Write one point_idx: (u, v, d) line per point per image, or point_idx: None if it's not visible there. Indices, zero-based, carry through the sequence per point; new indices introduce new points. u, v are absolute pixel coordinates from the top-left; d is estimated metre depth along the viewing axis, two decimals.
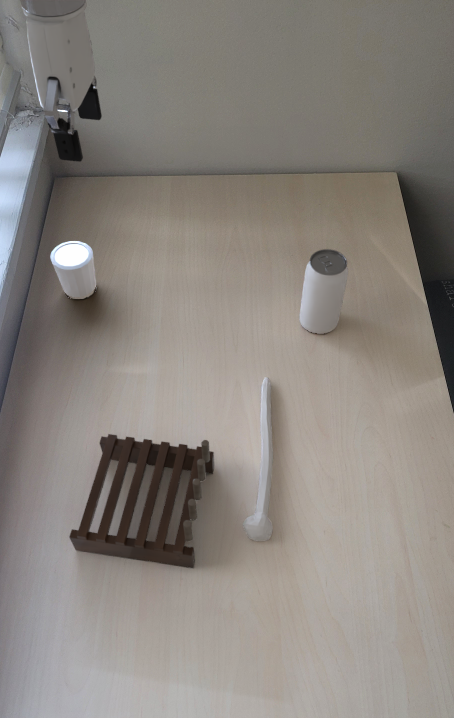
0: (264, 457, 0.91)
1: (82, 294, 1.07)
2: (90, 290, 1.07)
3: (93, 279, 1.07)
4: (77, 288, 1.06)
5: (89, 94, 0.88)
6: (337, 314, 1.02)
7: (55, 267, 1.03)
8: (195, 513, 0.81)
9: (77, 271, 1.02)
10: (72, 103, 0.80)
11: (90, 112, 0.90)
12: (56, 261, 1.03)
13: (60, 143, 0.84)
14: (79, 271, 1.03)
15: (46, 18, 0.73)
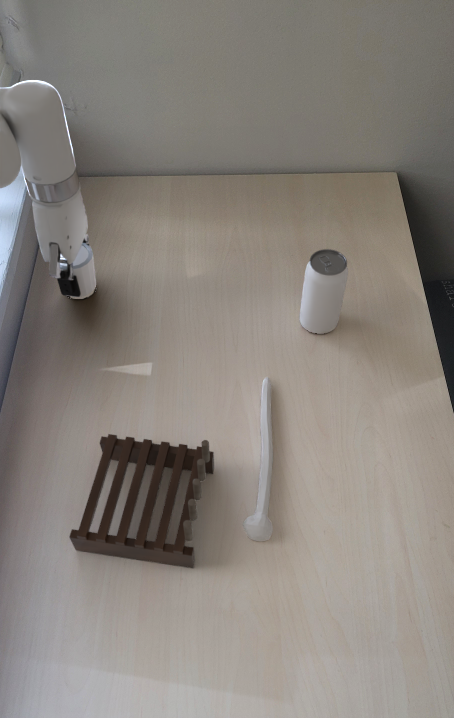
0: (264, 457, 0.91)
1: (82, 294, 1.07)
2: (90, 290, 1.07)
3: (93, 279, 1.07)
4: None
5: None
6: (337, 314, 1.02)
7: None
8: (195, 513, 0.81)
9: (77, 271, 1.02)
10: (69, 259, 0.98)
11: None
12: None
13: (62, 285, 1.03)
14: (79, 271, 1.03)
15: (48, 203, 0.91)
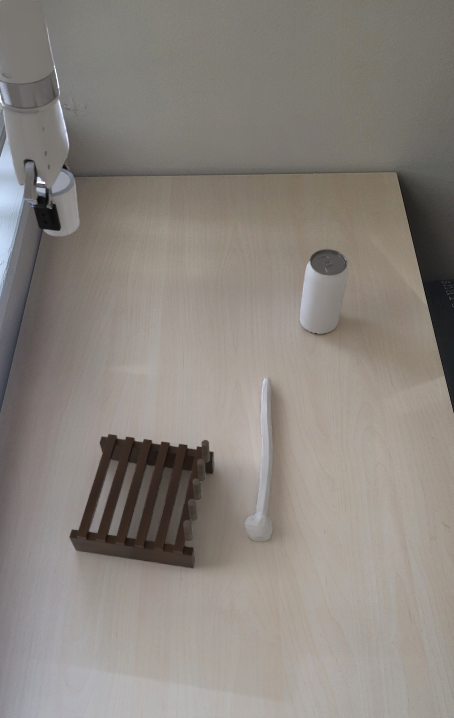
0: (264, 457, 0.91)
1: (63, 229, 0.94)
2: (72, 225, 0.95)
3: (75, 212, 0.94)
4: None
5: None
6: (337, 314, 1.02)
7: None
8: (195, 513, 0.81)
9: (57, 199, 0.90)
10: (47, 182, 0.85)
11: None
12: None
13: (40, 215, 0.90)
14: (59, 199, 0.90)
15: (22, 109, 0.78)
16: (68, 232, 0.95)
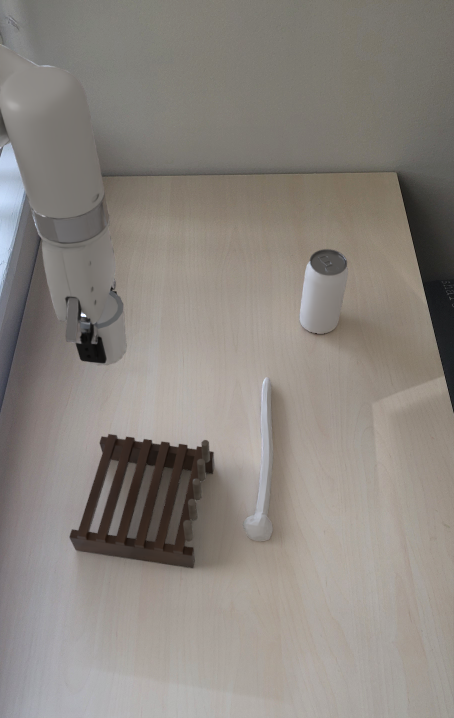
0: (264, 457, 0.91)
1: (108, 358, 0.79)
2: (119, 352, 0.80)
3: (123, 338, 0.79)
4: None
5: None
6: (337, 314, 1.02)
7: None
8: (195, 513, 0.81)
9: (103, 331, 0.75)
10: (93, 318, 0.70)
11: None
12: None
13: (82, 350, 0.75)
14: (106, 330, 0.75)
15: (65, 244, 0.64)
16: (114, 360, 0.80)
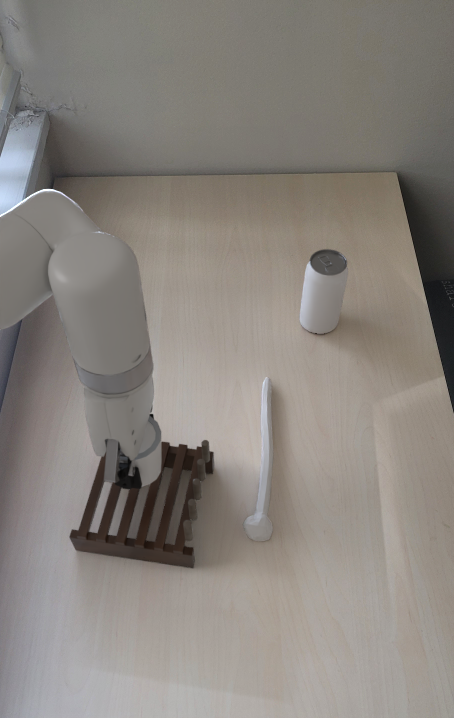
0: (264, 457, 0.91)
1: (143, 481, 0.77)
2: (154, 475, 0.78)
3: (159, 462, 0.77)
4: None
5: None
6: (337, 314, 1.02)
7: None
8: (195, 513, 0.81)
9: (140, 461, 0.73)
10: (132, 456, 0.68)
11: None
12: None
13: None
14: (143, 460, 0.73)
15: (108, 395, 0.61)
16: (149, 482, 0.78)
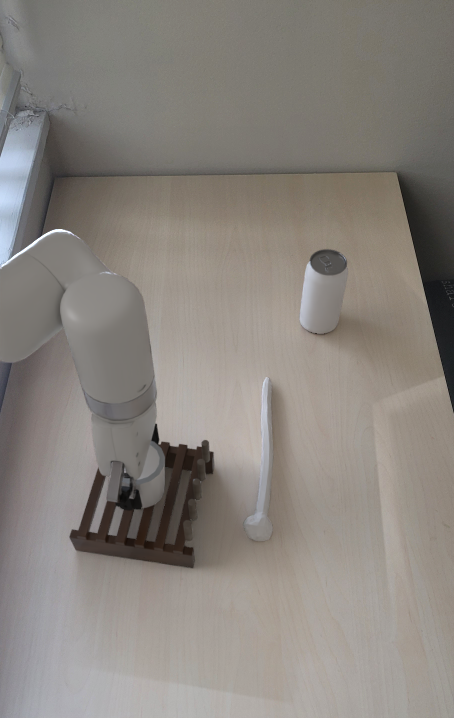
0: (264, 457, 0.91)
1: (148, 503, 0.82)
2: (158, 497, 0.82)
3: (163, 484, 0.81)
4: (142, 499, 0.80)
5: None
6: (337, 314, 1.02)
7: None
8: (195, 513, 0.81)
9: (145, 485, 0.77)
10: (136, 476, 0.72)
11: None
12: None
13: None
14: (148, 484, 0.77)
15: (114, 421, 0.65)
16: (153, 503, 0.83)
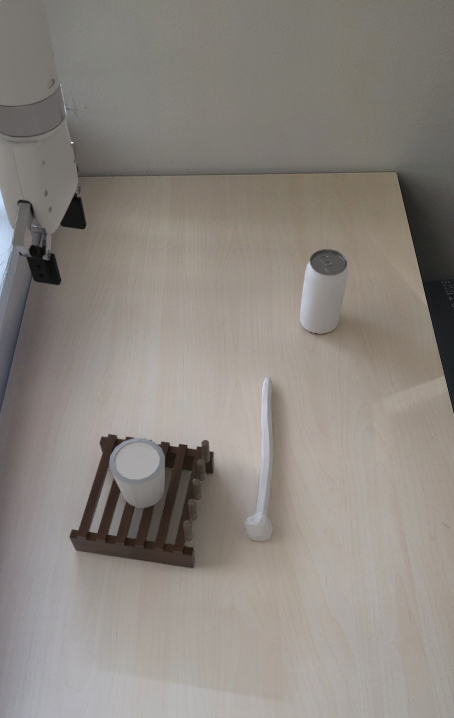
0: (265, 457, 0.91)
1: (148, 503, 0.82)
2: (158, 496, 0.82)
3: (163, 484, 0.81)
4: (142, 498, 0.80)
5: (71, 203, 0.75)
6: (337, 314, 1.02)
7: (116, 478, 0.78)
8: (195, 513, 0.81)
9: (145, 485, 0.77)
10: (48, 227, 0.67)
11: (73, 221, 0.77)
12: (117, 471, 0.77)
13: (34, 267, 0.70)
14: (148, 484, 0.77)
15: (16, 138, 0.60)
16: (153, 503, 0.83)
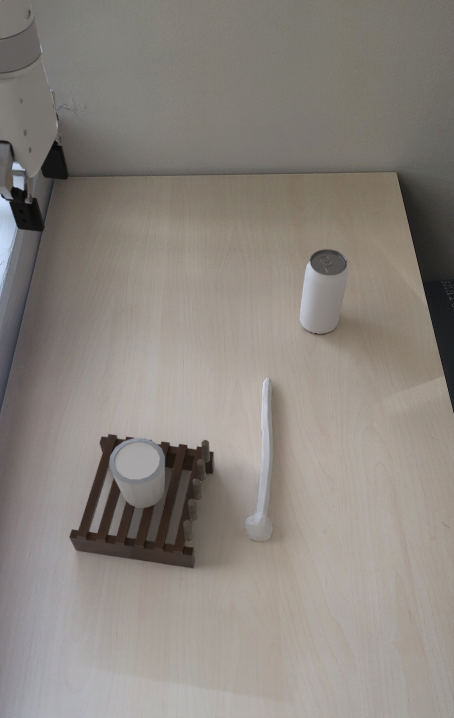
0: (265, 457, 0.91)
1: (148, 503, 0.82)
2: (158, 496, 0.82)
3: (163, 484, 0.81)
4: (142, 498, 0.80)
5: (53, 152, 0.76)
6: (337, 314, 1.02)
7: (116, 478, 0.78)
8: (195, 513, 0.81)
9: (145, 485, 0.77)
10: (29, 169, 0.68)
11: (55, 171, 0.78)
12: (117, 471, 0.77)
13: (17, 212, 0.71)
14: (148, 484, 0.77)
15: None
16: (153, 503, 0.83)
